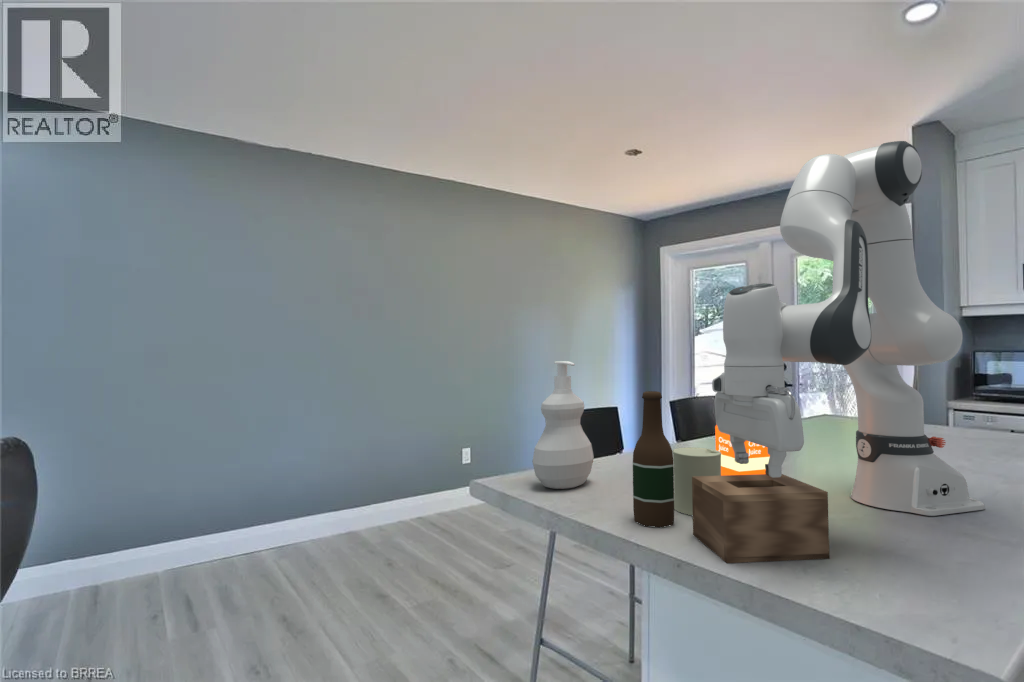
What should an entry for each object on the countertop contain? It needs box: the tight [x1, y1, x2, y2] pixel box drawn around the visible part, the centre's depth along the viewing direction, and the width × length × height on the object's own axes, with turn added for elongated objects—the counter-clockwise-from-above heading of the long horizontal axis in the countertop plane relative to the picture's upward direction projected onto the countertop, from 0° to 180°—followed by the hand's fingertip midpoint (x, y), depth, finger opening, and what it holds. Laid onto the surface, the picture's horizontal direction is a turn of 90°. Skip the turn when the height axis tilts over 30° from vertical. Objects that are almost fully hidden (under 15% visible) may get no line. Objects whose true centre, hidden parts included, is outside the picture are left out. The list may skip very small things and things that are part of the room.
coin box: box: [692, 473, 830, 564], centre depth 85 cm, size 16×12×10 cm
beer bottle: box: [632, 390, 675, 528], centre depth 98 cm, size 8×8×24 cm
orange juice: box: [714, 424, 770, 476], centre depth 116 cm, size 8×9×20 cm
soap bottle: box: [532, 360, 595, 490], centre depth 125 cm, size 17×12×29 cm
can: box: [672, 446, 721, 516], centre depth 105 cm, size 9×9×12 cm
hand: (756, 469), depth 85 cm, fingers open, 8 cm apart
